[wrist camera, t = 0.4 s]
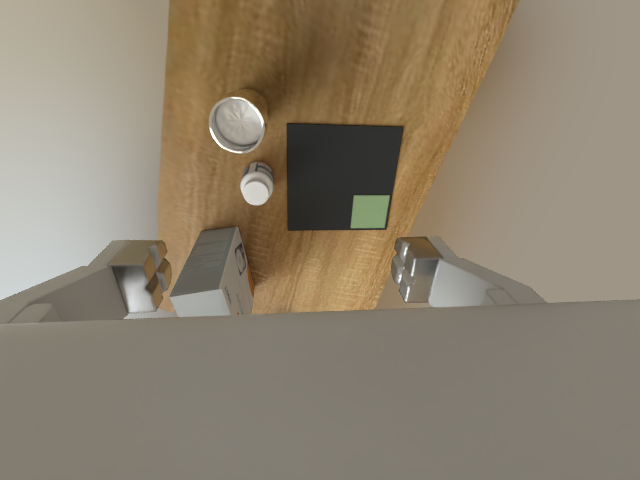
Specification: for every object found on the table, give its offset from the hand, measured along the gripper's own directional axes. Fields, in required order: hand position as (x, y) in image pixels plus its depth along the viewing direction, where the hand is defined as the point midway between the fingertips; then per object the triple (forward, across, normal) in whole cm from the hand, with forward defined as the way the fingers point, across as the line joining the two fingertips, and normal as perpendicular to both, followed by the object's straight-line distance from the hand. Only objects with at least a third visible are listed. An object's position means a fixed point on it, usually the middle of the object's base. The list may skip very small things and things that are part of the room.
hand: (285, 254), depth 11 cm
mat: (+45, -10, +13) cm, 48 cm away
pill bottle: (+46, +5, +12) cm, 47 cm away
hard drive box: (+46, +12, +30) cm, 56 cm away
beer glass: (+46, +6, +1) cm, 46 cm away
